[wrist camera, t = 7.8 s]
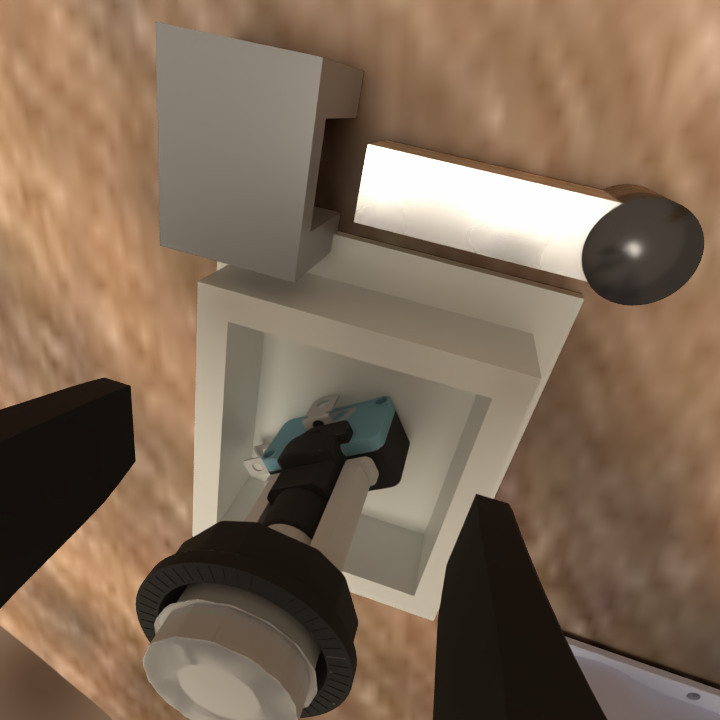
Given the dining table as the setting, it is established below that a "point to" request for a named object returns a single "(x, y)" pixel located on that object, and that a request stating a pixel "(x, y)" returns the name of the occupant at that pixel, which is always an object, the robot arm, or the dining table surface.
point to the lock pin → (534, 220)
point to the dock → (334, 312)
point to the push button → (274, 576)
